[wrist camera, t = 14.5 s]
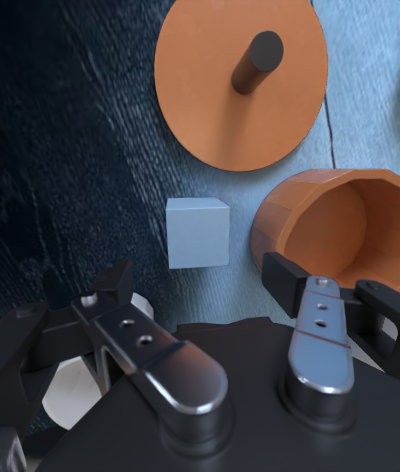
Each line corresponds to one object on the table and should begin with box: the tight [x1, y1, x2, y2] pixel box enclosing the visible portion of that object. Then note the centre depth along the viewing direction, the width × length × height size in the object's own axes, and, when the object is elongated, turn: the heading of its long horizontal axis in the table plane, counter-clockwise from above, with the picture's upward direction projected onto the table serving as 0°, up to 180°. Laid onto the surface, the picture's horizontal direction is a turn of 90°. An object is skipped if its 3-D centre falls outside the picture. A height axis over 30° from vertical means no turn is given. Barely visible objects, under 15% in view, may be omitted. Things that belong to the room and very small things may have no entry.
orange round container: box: [250, 169, 400, 293], centre depth 23 cm, size 15×15×6 cm
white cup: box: [42, 293, 154, 430], centre depth 22 cm, size 8×8×10 cm
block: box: [166, 197, 230, 269], centre depth 21 cm, size 5×5×6 cm
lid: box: [155, 0, 328, 172], centre depth 18 cm, size 16×16×6 cm
